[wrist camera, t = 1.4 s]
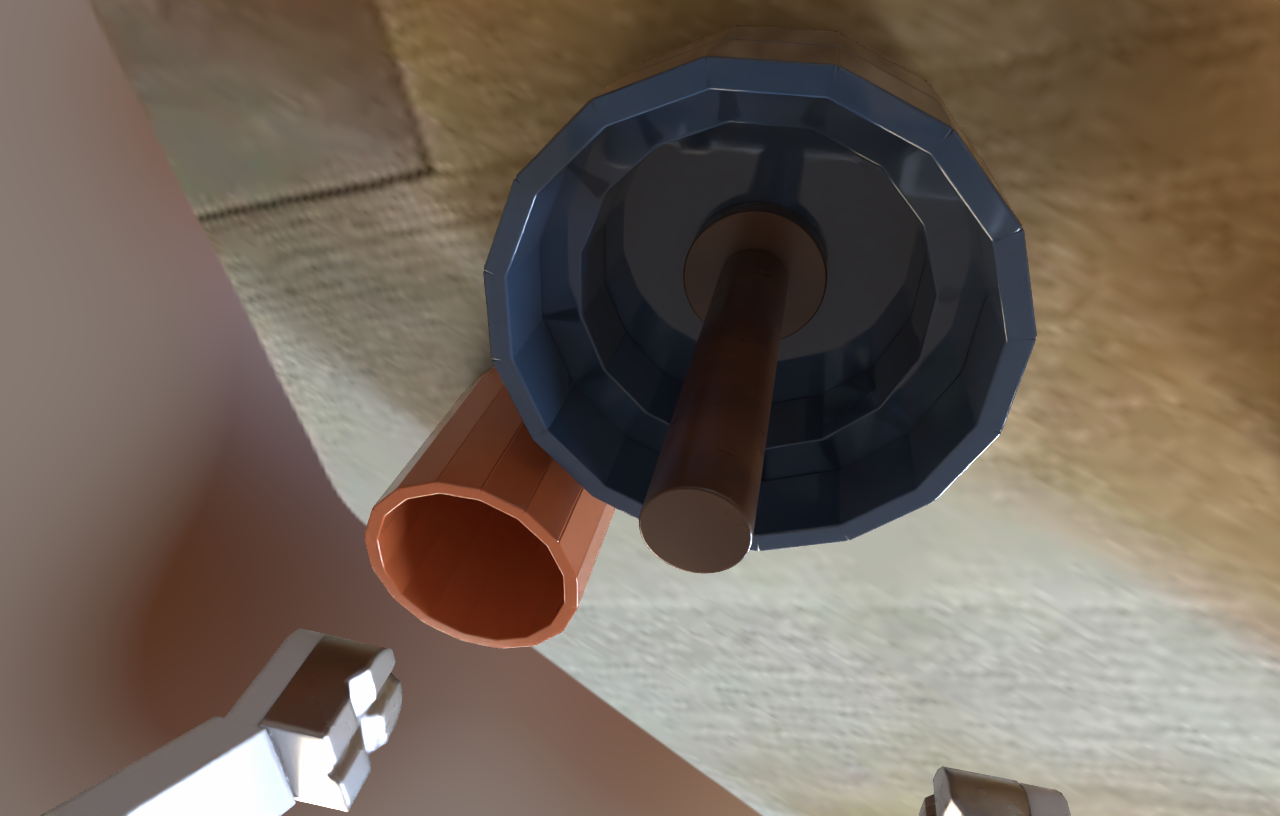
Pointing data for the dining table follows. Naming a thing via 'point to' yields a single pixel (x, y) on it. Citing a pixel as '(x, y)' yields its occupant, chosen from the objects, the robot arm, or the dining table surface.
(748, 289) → the plunger
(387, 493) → the crock
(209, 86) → the dining table surface
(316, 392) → the dining table surface
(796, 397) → the bowl
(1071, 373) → the dining table surface
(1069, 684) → the dining table surface
